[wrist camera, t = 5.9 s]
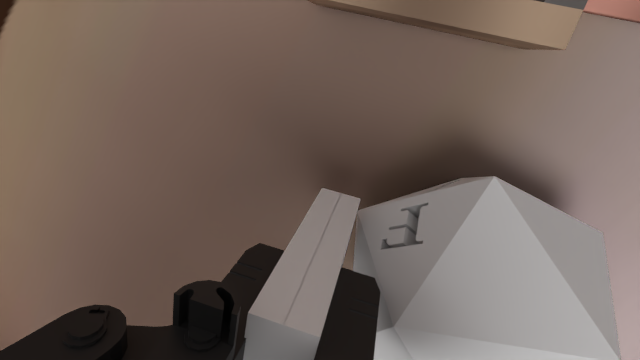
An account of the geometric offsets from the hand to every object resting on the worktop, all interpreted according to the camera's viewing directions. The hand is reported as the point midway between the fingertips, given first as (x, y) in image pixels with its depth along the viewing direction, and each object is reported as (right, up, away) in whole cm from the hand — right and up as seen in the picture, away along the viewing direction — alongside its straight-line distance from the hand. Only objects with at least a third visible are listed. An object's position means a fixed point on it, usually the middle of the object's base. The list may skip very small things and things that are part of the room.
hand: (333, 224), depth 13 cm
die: (+6, -1, +3) cm, 6 cm away
